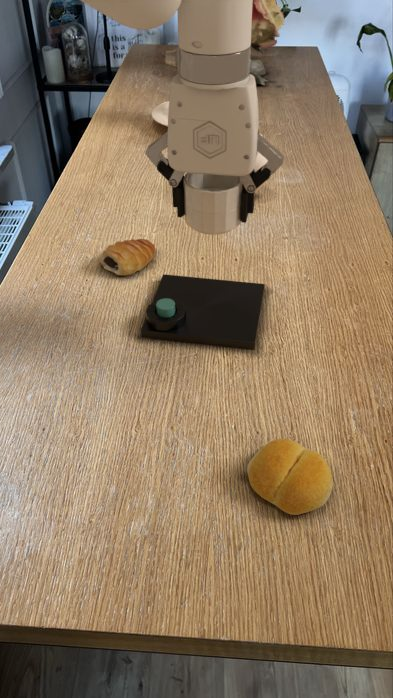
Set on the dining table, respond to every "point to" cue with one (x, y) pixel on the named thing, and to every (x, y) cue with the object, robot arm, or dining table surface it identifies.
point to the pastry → (127, 256)
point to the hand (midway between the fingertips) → (213, 213)
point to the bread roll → (290, 476)
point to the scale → (207, 312)
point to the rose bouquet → (264, 32)
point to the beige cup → (212, 202)
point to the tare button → (165, 307)
